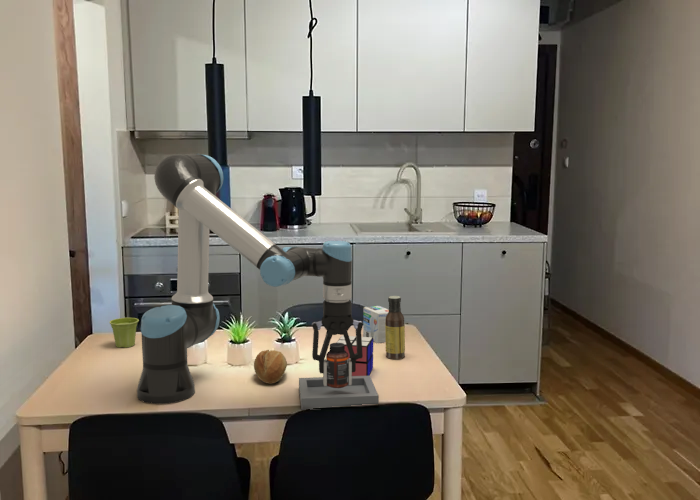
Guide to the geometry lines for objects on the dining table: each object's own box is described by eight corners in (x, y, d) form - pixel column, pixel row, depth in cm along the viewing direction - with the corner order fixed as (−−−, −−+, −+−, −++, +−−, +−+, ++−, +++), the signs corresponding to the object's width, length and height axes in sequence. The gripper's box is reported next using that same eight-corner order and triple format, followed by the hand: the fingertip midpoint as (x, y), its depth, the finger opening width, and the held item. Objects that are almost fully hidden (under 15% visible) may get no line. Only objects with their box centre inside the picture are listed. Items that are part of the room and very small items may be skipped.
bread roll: (252, 387, 189) (252, 359, 188) (255, 370, 204) (254, 344, 203) (287, 386, 190) (286, 359, 189) (287, 369, 205) (286, 344, 204)
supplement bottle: (352, 384, 182) (352, 343, 180) (340, 390, 177) (340, 348, 175) (334, 380, 185) (334, 340, 183) (321, 386, 180) (321, 345, 178)
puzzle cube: (367, 379, 196) (367, 346, 195) (334, 377, 198) (334, 344, 197) (373, 368, 206) (373, 337, 204) (341, 366, 208) (341, 335, 206)
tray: (301, 409, 172) (301, 398, 172) (298, 388, 188) (298, 377, 188) (378, 406, 175) (378, 395, 174) (369, 385, 190) (369, 375, 190)
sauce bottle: (399, 353, 221) (400, 294, 219) (408, 358, 216) (409, 297, 213) (381, 355, 219) (382, 295, 216) (390, 361, 213) (391, 299, 210)
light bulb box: (362, 336, 242) (362, 307, 240) (378, 334, 245) (378, 305, 243) (377, 343, 233) (377, 313, 231) (394, 341, 236) (394, 311, 234)
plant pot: (105, 345, 228) (104, 320, 227) (130, 340, 235) (129, 316, 234) (119, 351, 222) (118, 325, 221) (145, 345, 229) (144, 320, 228)
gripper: (302, 303, 173) (302, 390, 176) (375, 302, 175) (374, 387, 178) (300, 297, 180) (301, 380, 183) (370, 295, 182) (370, 378, 186)
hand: (337, 383), depth 181 cm, fingers closed on supplement bottle, 6 cm apart
